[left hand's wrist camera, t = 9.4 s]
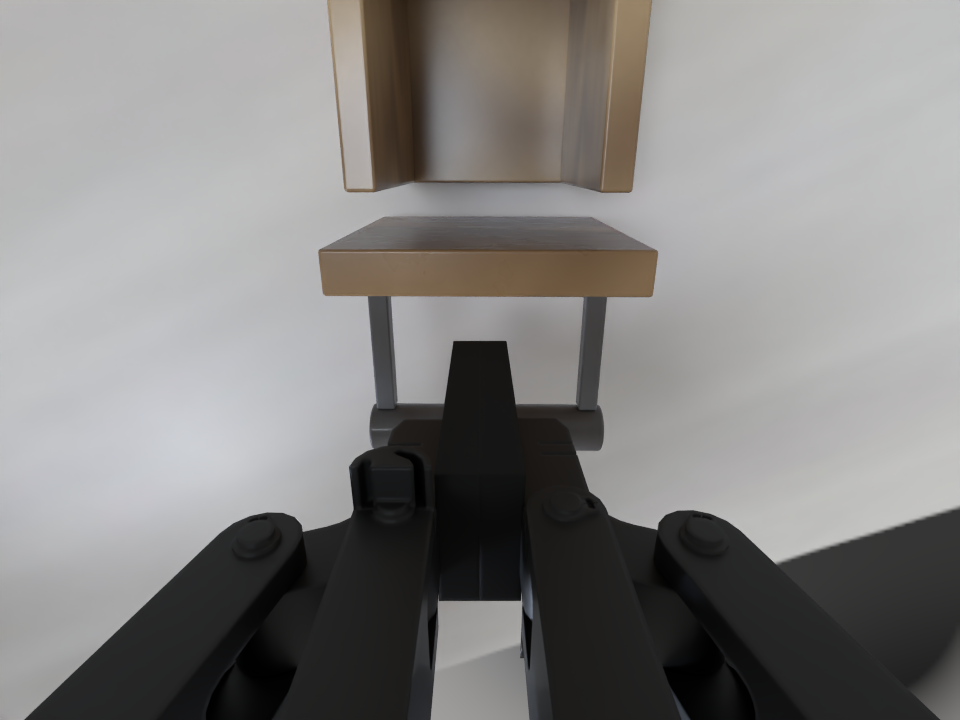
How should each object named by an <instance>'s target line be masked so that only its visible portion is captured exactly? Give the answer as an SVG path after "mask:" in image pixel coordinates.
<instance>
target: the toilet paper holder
mask: <svg viewBox="0 0 960 720" xmlns="http://www.w3.org/2000/svg"><path fill="white" fill-rule="evenodd" d="M327 4H328V15H329V26H330V37H331V48H332V59H333V70H334V81H335V92H336V103H337V114H338V125H339V136H340V147H341V158H342V169H343V180H344V189H345V191H347V192H377V191H381V190H385V189H389V188H393V187H397V186H401V185H405V184H409V183H413V182H444V183H566V184H570V185H574V186H578V187H582V188H586V189H590V190H594V191H598V192H602V193H629V192H631V191H632V188H633V179H634V169H635V159H636V150H637V140H638V130H639V121H640V111H641V101H642V92H643V82H644V72H645V63H646V53H647V43H648V34H649V24H650V14H651V5H652V0H327ZM318 254H319V263H320V272H321V280H322V289H323V294H324V295H325V296H368V303H369V315H370V328H371V340H372V352H373V365H374V377H375V389H376V402H377V404H374V406H373V408H372V411H371V417H370V441H371V445H372V447H373V448H374V449H376V448H379V447H383V446H387V443H388V440H389V437H390V434H391V431H392V430H393V429H394V428H395V427H396V426H397V425H398V424H400V423H401V422H402V421H403V420H404V419H442V418H443V411H444V404H401V403H397V401H398V400H397V385H396V369H395V354H394V339H393V323H392V308H391V296H474V297H584V303H583V316H582V330H581V343H580V356H579V369H578V382H577V395H576V403H577V405H559V404H516V411H517V418H557V419H558V420H559V421H560V422H561V423H562V424H564V425H565V426H566V427H567V428H568V429H569V432H570V435H571V438H572V441H573V444H574V447H575V450H576V451H599V450H600V449H601V447H602V444H603V438H604V421H603V415H602V411H601V408H600V406H599V405H597V399H598V388H599V377H600V366H601V356H602V345H603V334H604V323H605V313H606V302H607V297H651V296H652V295H653V289H654V281H655V273H656V265H657V257H658V251H657V250H655V249H653V248H651V247H649V246H647V245H645V244H643V243H641V242H639V241H637V240H635V239H633V238H631V237H629V236H627V235H625V234H623V233H621V232H619V231H617V230H615V229H614V228H612V227H610V226H608V225H606V224H604V223H602V222H600V221H598V220H596V219H594V218H592V217H383V218H381V219H379V220H377V221H375V222H373V223H371V224H369V225H367V226H365V227H363V228H361V229H359V230H357V231H355V232H353V233H351V234H349V235H347V236H345V237H344V238H342V239H340V240H338V241H336V242H334V243H332V244H330V245H328V246H326V247H324V248H322V249H320V250H319V252H318Z"/></svg>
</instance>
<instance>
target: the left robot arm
mask: <svg viewBox="0 0 960 720" xmlns="http://www.w3.org/2000/svg"><path fill="white" fill-rule="evenodd" d="M349 470H350V479H351V488H352V497H353V506H354V510H353V513H352V516H351V518H349V519H347V520H345V521H342V522H340V523H338V524H334V525H331V526H328V527H323V528H319V529H314V530H310V531H305V532H303V531H302V525H301V524H300V523H299V522H298V521H297V519H296V518H295V517H292V516H290V515H287V514H284V513H263V514H258V515H253V516H249V517H247V518H245V519H242V520H240V521H238V522H236V523H233V524H232V525H231V526H229V527H228V528H227V529H225V530H224V531H222V532H221V533H220V534H219V535H218V536H217V537H216V538H215V539H214V540H212V541H211V542H210V543H209V544H208V545H207V546H206V547H205V548H204V549H203V550H202V551H201V552H200V553H199V554H198V555H197V556H196V557H195V558H194V559H193V560H191V561H190V562H189V563H188V564H187V565H186V566H185V567H184V568H183V569H182V570H181V571H180V572H179V573H178V574H177V575H176V576H175V577H174V578H173V579H172V580H170V581H169V582H168V583H167V584H166V585H165V586H164V587H163V588H162V589H161V590H160V591H159V592H158V593H157V594H156V595H155V596H154V597H153V598H152V599H151V600H149V601H148V602H147V603H146V604H145V605H144V606H143V607H142V608H141V609H140V610H139V611H138V612H137V613H136V614H135V615H134V616H133V617H132V618H131V619H130V620H128V621H127V622H126V623H125V624H124V625H123V626H122V627H121V628H120V629H119V630H118V631H117V632H116V633H115V634H114V635H113V636H112V637H111V638H110V639H109V640H108V641H106V642H105V643H104V644H103V645H102V646H101V647H100V648H99V649H98V650H97V651H96V652H95V653H94V654H93V655H92V656H91V657H90V658H89V659H88V660H87V661H85V662H84V663H83V664H82V665H81V666H80V667H79V668H78V669H77V670H76V671H75V672H74V673H73V674H72V675H71V676H70V677H69V678H68V679H67V680H66V681H64V682H63V683H62V684H61V685H60V686H59V687H58V688H57V689H56V690H55V691H54V692H53V693H52V694H51V695H50V696H49V697H48V698H47V699H46V700H45V701H43V702H42V703H41V704H40V705H39V706H38V707H37V708H36V709H35V710H34V711H33V712H32V713H31V714H30V715H29V716H28V717H27V718H26V719H25V720H430V719H431V707H432V696H433V684H434V672H435V661H436V649H437V638H438V595H439V601H521V592H522V603H523V604H522V628H521V653H520V658H524V660H525V672H526V683H527V695H528V707H529V718H530V720H940V719H939V718H938V717H937V716H936V715H935V714H933V713H932V712H931V711H930V710H929V709H928V708H927V707H926V706H925V705H924V704H923V703H922V702H921V701H920V700H919V699H918V698H916V696H914V695H913V694H912V693H911V692H910V691H909V690H908V689H907V688H906V687H905V686H904V685H903V684H902V683H901V682H900V681H899V680H897V679H896V678H895V677H894V676H893V675H892V674H891V673H890V672H889V671H888V670H887V669H886V668H885V667H884V666H883V665H882V664H881V663H880V662H878V661H877V660H876V659H875V658H874V657H873V656H872V655H871V654H870V653H869V652H868V651H867V650H866V649H865V648H864V647H863V646H862V645H860V644H859V643H858V642H857V641H856V640H855V639H854V638H853V637H852V636H851V635H850V634H849V633H848V632H847V631H846V630H845V629H844V628H843V627H841V626H840V625H839V624H838V623H837V622H836V621H835V620H834V619H833V618H832V617H831V616H830V615H829V614H828V613H827V612H826V611H825V610H824V609H822V608H821V607H820V606H819V605H818V604H817V603H816V602H815V601H814V600H813V599H812V598H811V597H810V596H809V595H808V594H807V593H806V592H804V591H803V590H802V589H801V588H800V587H799V586H798V585H797V584H796V583H795V582H794V581H793V580H792V579H791V578H790V577H789V576H788V575H786V574H785V573H784V572H783V571H782V570H781V569H780V568H779V567H778V566H777V565H776V564H775V563H774V562H773V561H772V560H771V559H770V558H769V557H767V556H766V555H765V554H764V553H763V552H762V551H761V550H760V549H759V548H758V547H757V546H756V545H755V544H754V543H753V542H752V541H751V540H749V539H748V538H747V537H746V536H745V535H744V534H743V533H742V532H741V531H740V530H738V529H737V528H736V527H734V526H733V525H732V524H730V523H729V522H727V521H726V520H723V519H721V518H719V517H716V516H714V515H712V514H708V513H703V512H699V511H694V510H688V511H676V512H673V513H670V514H667V515H665V516H664V518H663V519H662V520H661V521H660V522H659V525H658V530H655V529H651V528H646V527H642V526H637V525H633V524H629V523H626V522H623V521H620V520H618V519H616V518H614V517H611V516H609V515H608V512H607V510H606V508H605V506H604V505H603V503H602V502H601V500H600V499H599V498H597V497H596V496H595V495H593V494H592V493H590V492H589V490H588V487H587V484H586V481H585V478H584V475H583V471H582V468H581V465H580V462H579V459H578V456H577V455H576V450H575V447H574V444H573V441H572V438H571V435H570V432H569V429H568V428H567V427H566V426H565V425H564V424H562V423H561V422H560V421H559V420H558V419H557V418H517V411H516V404H515V397H514V390H513V383H512V376H511V370H510V363H509V356H508V349H507V342H506V341H454V342H453V349H452V356H451V363H450V370H449V376H448V383H447V390H446V397H445V404H444V411H443V418H442V419H404V420H403V421H402V422H401V423H400V424H398V425H397V426H396V427H395V428H394V429H393V430H392V431H391V434H390V437H389V440H388V443H387V446H383V447H379V448H376V449H372V450H369V451H367V452H365V453H363V454H362V455H360V456H358V457H357V458H356V459H355V460H354V461H353V462H352V464H351V465H350V466H349Z"/></svg>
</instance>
